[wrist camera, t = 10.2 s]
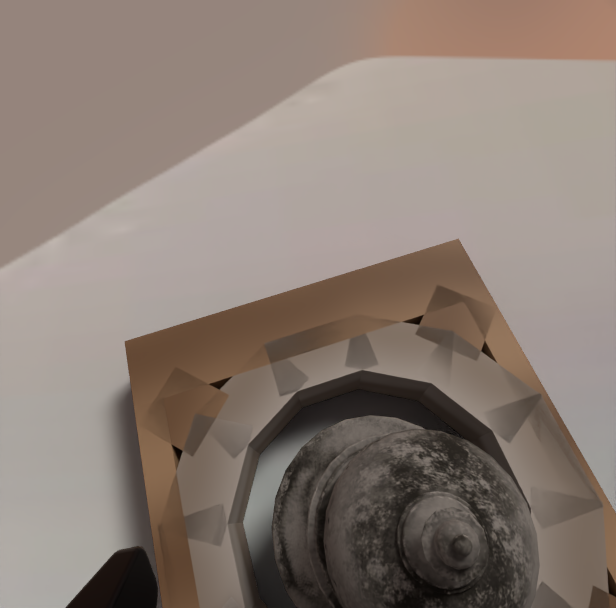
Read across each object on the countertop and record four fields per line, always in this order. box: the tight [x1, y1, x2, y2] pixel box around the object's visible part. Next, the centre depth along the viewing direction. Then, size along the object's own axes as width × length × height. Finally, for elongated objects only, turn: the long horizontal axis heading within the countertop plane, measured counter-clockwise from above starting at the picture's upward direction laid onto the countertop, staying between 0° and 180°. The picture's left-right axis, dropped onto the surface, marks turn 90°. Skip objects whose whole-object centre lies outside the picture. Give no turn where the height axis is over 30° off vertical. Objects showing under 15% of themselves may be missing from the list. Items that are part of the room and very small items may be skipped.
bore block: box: [125, 239, 616, 608], centre depth 14 cm, size 16×13×2 cm
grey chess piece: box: [272, 415, 540, 608], centre depth 10 cm, size 6×6×12 cm
